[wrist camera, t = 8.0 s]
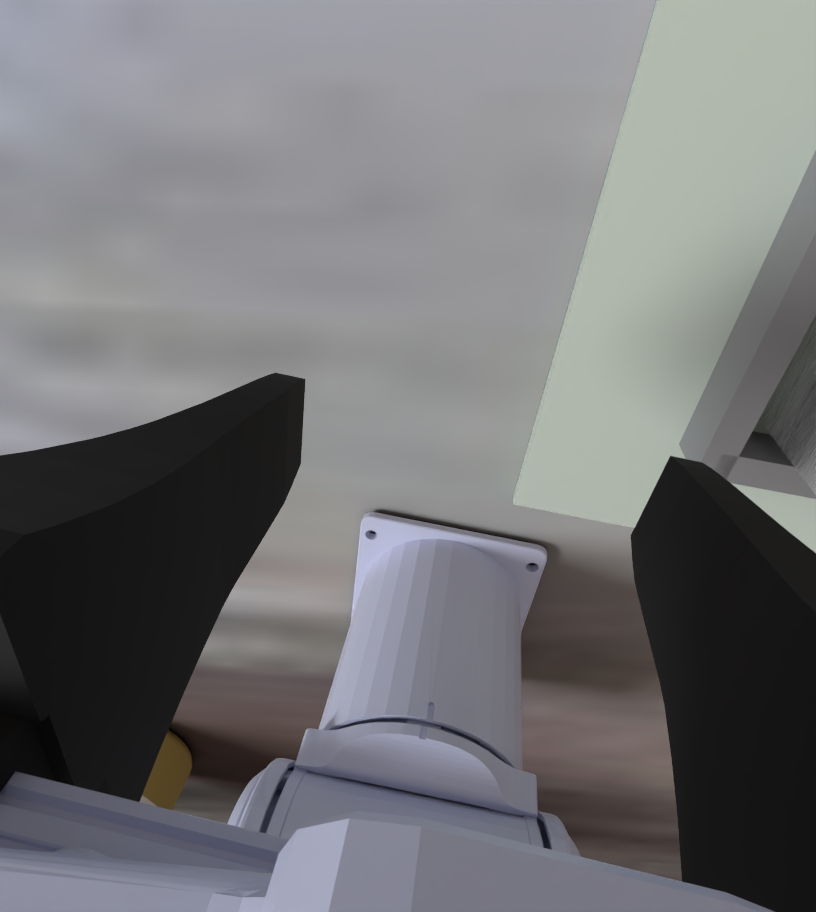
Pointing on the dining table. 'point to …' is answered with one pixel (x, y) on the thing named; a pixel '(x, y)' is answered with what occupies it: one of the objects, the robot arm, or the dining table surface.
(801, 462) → the white block
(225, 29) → the dining table surface
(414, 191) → the dining table surface
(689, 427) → the board
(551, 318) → the dining table surface
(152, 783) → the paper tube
